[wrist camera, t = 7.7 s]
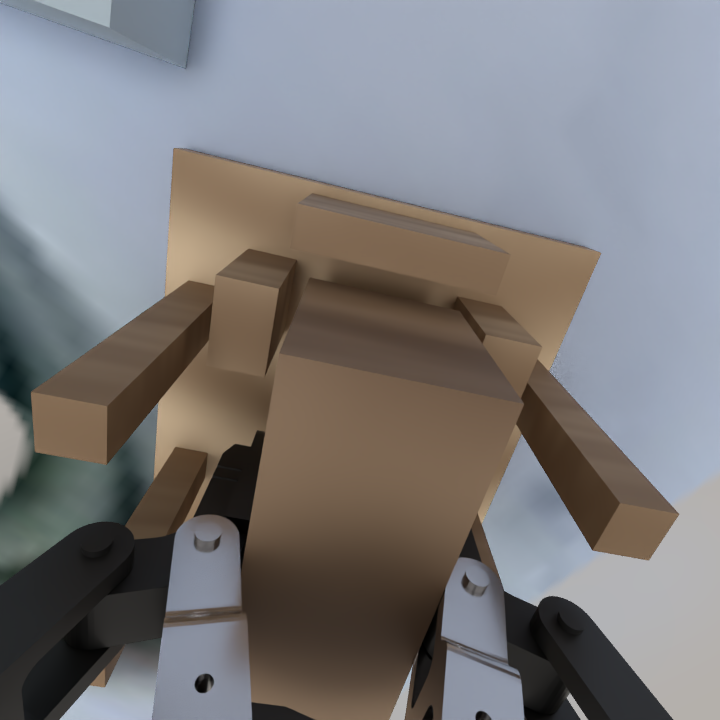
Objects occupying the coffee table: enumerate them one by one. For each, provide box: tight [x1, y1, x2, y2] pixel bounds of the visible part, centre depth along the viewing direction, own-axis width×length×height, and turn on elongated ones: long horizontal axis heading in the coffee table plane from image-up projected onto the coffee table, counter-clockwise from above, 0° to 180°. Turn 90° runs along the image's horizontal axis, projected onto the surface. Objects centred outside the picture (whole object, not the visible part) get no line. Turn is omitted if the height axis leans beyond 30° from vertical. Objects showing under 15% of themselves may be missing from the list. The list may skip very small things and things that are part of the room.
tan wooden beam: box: [241, 277, 524, 720], centre depth 12 cm, size 11×4×5 cm, turn 167°
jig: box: [31, 148, 679, 687], centre depth 13 cm, size 15×13×8 cm
